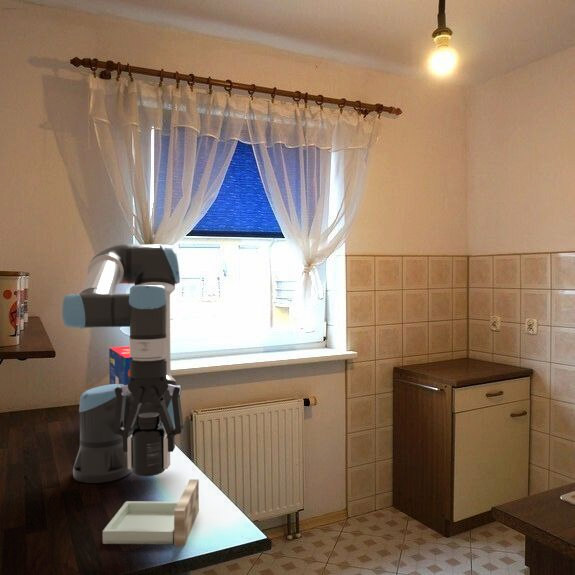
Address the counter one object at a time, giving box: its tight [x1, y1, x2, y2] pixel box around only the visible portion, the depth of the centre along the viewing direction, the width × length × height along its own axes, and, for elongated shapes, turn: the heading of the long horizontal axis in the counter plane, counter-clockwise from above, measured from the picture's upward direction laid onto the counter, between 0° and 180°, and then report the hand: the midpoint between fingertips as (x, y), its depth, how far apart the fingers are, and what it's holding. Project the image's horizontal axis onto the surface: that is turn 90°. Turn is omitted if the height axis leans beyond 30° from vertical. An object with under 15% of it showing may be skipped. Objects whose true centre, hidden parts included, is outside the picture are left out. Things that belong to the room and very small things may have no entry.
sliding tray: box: [102, 500, 179, 545], centre depth 111 cm, size 14×14×2 cm
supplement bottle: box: [132, 412, 166, 477], centre depth 110 cm, size 7×7×12 cm
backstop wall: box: [173, 478, 200, 547], centre depth 111 cm, size 16×2×7 cm, turn 0°
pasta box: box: [108, 345, 133, 434], centre depth 179 cm, size 28×8×28 cm, turn 29°
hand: (149, 466), depth 110 cm, fingers closed on supplement bottle, 7 cm apart
